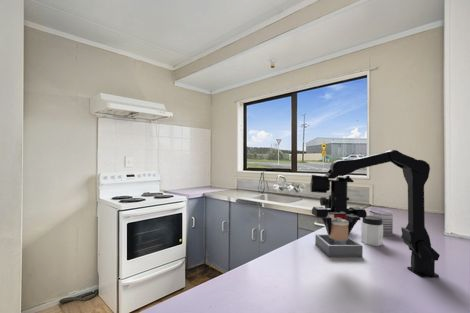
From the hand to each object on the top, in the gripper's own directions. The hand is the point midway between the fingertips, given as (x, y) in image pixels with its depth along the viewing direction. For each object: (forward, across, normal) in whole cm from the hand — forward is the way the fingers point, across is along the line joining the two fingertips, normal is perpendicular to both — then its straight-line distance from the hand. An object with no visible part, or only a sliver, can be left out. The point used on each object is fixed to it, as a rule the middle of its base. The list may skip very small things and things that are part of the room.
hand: (338, 234), depth 90 cm
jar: (+11, -27, -22) cm, 36 cm away
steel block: (+10, -6, -13) cm, 17 cm away
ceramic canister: (+1, 0, 0) cm, 1 cm away
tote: (+11, -6, -13) cm, 18 cm away
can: (+11, -42, -38) cm, 58 cm away
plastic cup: (+11, -22, -41) cm, 48 cm away
